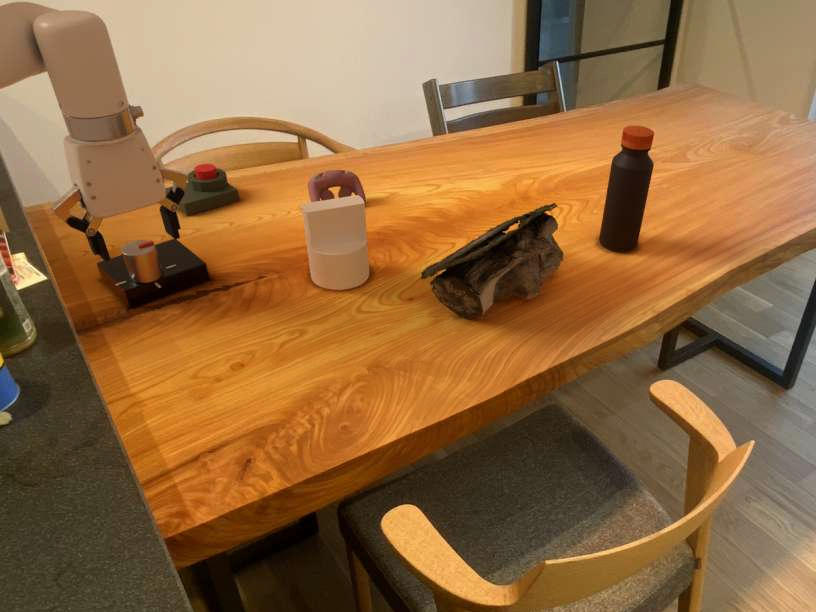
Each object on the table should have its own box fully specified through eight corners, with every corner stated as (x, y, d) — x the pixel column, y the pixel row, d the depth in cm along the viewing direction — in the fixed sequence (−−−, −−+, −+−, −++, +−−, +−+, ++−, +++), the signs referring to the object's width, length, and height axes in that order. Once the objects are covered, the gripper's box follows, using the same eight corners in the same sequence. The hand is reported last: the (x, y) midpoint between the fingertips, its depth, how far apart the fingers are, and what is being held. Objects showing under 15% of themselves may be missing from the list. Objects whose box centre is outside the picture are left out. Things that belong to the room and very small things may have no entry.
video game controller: (362, 205, 131) (355, 167, 129) (368, 204, 127) (361, 165, 125) (310, 213, 127) (302, 174, 125) (315, 212, 123) (306, 172, 121)
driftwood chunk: (438, 358, 101) (495, 327, 89) (391, 283, 100) (442, 242, 88) (552, 281, 118) (612, 246, 106) (512, 216, 116) (569, 174, 104)
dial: (137, 286, 97) (128, 256, 94) (124, 274, 100) (115, 244, 97) (168, 276, 100) (160, 246, 97) (155, 264, 102) (146, 235, 99)
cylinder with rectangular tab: (320, 294, 104) (311, 222, 96) (304, 266, 110) (294, 195, 102) (377, 282, 107) (372, 211, 100) (358, 255, 113) (353, 186, 106)
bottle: (590, 242, 121) (608, 129, 109) (613, 230, 125) (633, 120, 113) (622, 257, 118) (644, 142, 105) (644, 244, 122) (668, 132, 109)
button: (202, 182, 123) (200, 173, 122) (192, 176, 125) (190, 166, 124) (221, 177, 125) (219, 168, 124) (211, 171, 127) (209, 162, 126)
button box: (187, 215, 121) (181, 194, 118) (165, 199, 125) (160, 178, 123) (241, 200, 127) (237, 179, 124) (219, 185, 131) (214, 164, 128)
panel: (135, 316, 97) (128, 297, 95) (100, 280, 103) (93, 262, 101) (217, 286, 104) (213, 268, 102) (179, 254, 110) (175, 237, 108)
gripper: (156, 102, 93) (186, 218, 104) (13, 130, 83) (63, 255, 94) (181, 117, 89) (210, 237, 100) (35, 148, 79) (85, 277, 90)
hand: (139, 246), depth 97 cm, fingers open, 9 cm apart
